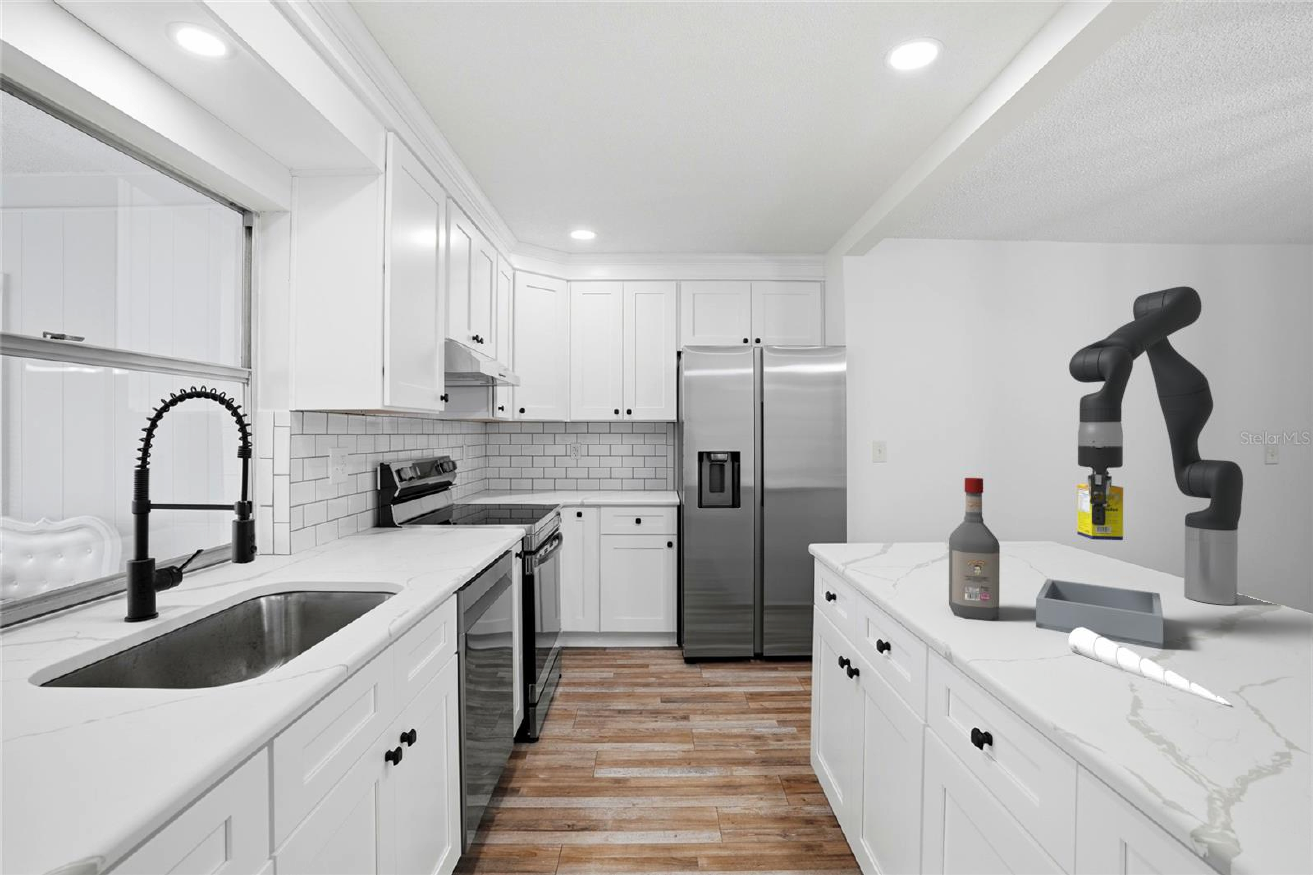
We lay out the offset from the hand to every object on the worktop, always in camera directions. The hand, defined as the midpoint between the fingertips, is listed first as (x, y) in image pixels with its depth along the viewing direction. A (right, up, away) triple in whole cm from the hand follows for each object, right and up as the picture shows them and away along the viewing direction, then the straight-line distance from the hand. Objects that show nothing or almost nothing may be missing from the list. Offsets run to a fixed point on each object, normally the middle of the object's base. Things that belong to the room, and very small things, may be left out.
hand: (1099, 522), depth 125 cm
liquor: (-22, -22, +8) cm, 32 cm away
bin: (0, -21, 0) cm, 21 cm away
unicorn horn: (-11, -22, -24) cm, 35 cm away
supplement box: (0, -3, 0) cm, 3 cm away
